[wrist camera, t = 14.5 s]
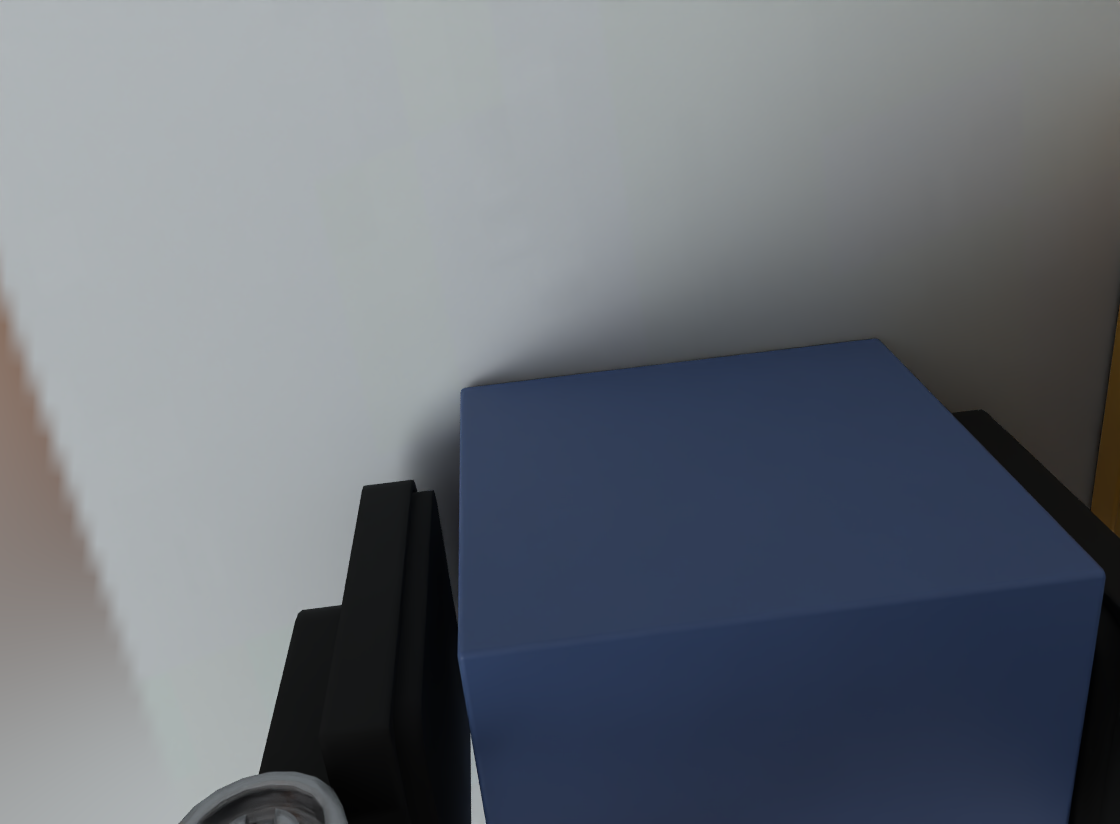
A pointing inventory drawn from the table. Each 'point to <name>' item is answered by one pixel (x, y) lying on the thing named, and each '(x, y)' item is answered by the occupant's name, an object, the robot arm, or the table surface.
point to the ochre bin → (1110, 450)
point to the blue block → (762, 601)
